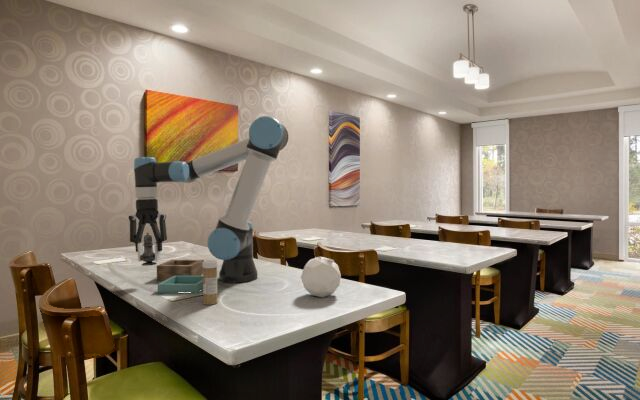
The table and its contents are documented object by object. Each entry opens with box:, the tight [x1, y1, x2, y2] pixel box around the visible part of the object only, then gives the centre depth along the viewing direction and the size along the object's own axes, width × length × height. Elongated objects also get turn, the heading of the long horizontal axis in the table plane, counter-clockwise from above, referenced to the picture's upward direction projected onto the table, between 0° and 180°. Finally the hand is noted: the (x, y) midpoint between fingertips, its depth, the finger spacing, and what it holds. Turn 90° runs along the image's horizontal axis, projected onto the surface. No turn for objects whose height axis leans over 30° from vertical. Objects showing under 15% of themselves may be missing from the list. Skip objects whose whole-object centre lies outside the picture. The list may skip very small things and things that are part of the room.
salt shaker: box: [140, 232, 158, 267], centre depth 152 cm, size 6×6×12 cm
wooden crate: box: [156, 259, 205, 282], centre depth 166 cm, size 14×14×6 cm
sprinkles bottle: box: [202, 259, 219, 306], centre depth 128 cm, size 5×5×13 cm
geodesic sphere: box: [300, 256, 342, 298], centre depth 137 cm, size 14×14×14 cm
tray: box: [157, 275, 203, 294], centre depth 148 cm, size 14×14×3 cm
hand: (149, 260), depth 152 cm, fingers closed on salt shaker, 6 cm apart
